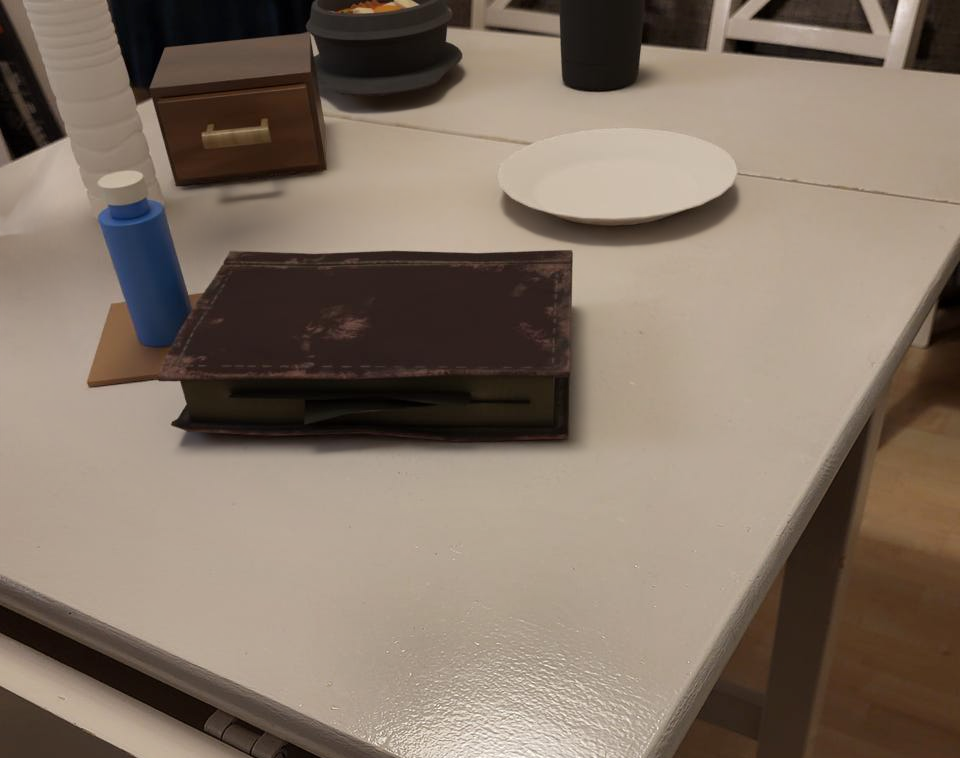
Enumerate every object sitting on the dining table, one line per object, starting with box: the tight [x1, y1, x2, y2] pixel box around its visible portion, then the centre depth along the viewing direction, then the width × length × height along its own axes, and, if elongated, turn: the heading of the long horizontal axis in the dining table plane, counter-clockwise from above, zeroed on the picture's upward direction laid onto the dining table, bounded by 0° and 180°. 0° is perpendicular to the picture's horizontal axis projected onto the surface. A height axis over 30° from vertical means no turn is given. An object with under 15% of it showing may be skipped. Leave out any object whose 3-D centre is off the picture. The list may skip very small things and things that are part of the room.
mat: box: [86, 292, 204, 388], centre depth 72 cm, size 10×12×1 cm
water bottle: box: [22, 0, 165, 221], centre depth 82 cm, size 9×6×25 cm
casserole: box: [305, 0, 463, 97], centre depth 113 cm, size 25×19×8 cm
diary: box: [156, 249, 574, 443], centre depth 65 cm, size 19×25×5 cm
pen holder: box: [558, 0, 646, 92], centre depth 107 cm, size 9×9×10 cm
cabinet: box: [149, 32, 328, 187], centre depth 97 cm, size 14×15×9 cm
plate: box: [496, 127, 739, 227], centre depth 86 cm, size 21×21×2 cm
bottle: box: [97, 171, 192, 347], centre depth 68 cm, size 4×4×11 cm
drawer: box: [158, 83, 319, 180], centre depth 94 cm, size 17×14×7 cm
